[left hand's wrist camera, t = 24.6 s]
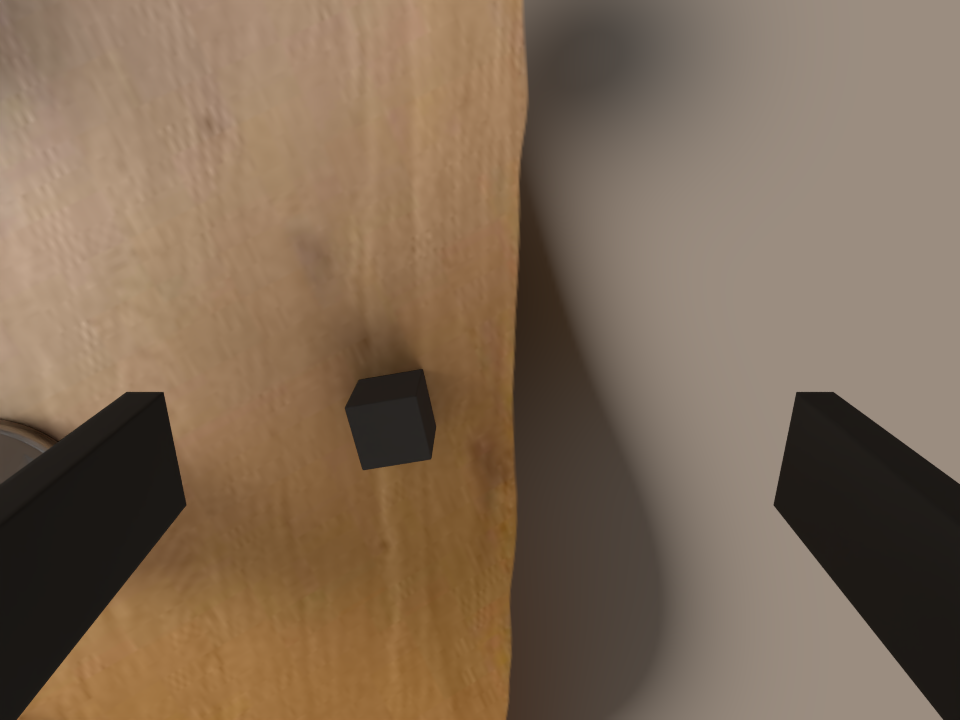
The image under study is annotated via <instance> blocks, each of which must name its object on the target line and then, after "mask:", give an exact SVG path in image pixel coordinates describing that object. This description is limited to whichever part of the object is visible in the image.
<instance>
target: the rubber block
mask: <svg viewBox="0 0 960 720" xmlns="http://www.w3.org/2000/svg"><path fill="white" fill-rule="evenodd" d="M345 410H346V414H347V417H348V421H349V424H350V428H351V431H352V435H353V438H354V442H355V445H356V449H357V452H358V456H359V459H360V463H361V466H362V469H363V470H368V469H374V468H380V467H386V466H393V465H399V464H405V463H411V462H418V461H424V460H430V459H431V458H432V451H433V444H434V438H435V431H436V424H435V420H434V415H433V411H432V407H431V402H430V398H429V394H428V389H427V385H426V381H425V376H424V372H423V369H420V370H414V371H408V372H402V373H396V374H391V375H385V376H379V377H373V378H367V379H361V380H358V382H357V384H356V386H355V388H354V390H353V392H352V394H351V396H350V398H349V401H348V403H347V405H346V407H345Z"/></svg>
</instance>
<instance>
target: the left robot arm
mask: <svg viewBox="0 0 960 720" xmlns="http://www.w3.org/2000/svg"><path fill="white" fill-rule="evenodd" d="M185 506H186V501H185V496H184V491H183V486H182V481H181V476H180V471H179V466H178V461H177V456H176V451H175V446H174V441H173V436H172V432H171V427H170V422H169V417H168V412H167V407H166V402H165V397H164V392H126V393H125V394H123V395H122V396H120V397H119V398H118V399H116V400H115V401H114V402H112V403H111V404H110V405H108V406H107V407H105V408H104V409H103V410H101V411H100V412H99V413H97V414H96V415H94V416H93V417H92V418H90V419H89V420H88V421H86V422H85V423H83V424H82V425H81V426H79V427H78V428H77V429H75V430H74V431H73V432H71V433H70V434H68V435H67V436H66V437H64V438H63V439H62V440H60V441H59V442H57V441H56V440H54V439H52V438H51V437H49V436H47V435H45V434H43V433H42V432H39V431H37V430H35V429H33V428H30V427H27V426H25V425H22V424H18V423H14V422H11V421H5V420H0V720H17V719H18V717H19V716H20V715H21V714H22V712H23V711H24V710H25V709H26V707H27V706H28V705H29V703H30V702H31V701H32V700H33V698H34V697H35V696H36V695H37V693H38V692H39V691H40V690H41V688H42V687H43V686H44V685H45V683H46V682H47V681H48V679H49V678H50V677H51V676H52V674H53V673H54V672H55V671H56V669H57V668H58V667H59V666H60V664H61V663H62V662H63V661H64V659H65V658H66V657H67V655H68V654H69V653H70V652H71V650H72V649H73V648H74V647H75V645H76V644H77V643H78V642H79V640H80V639H81V638H82V637H83V635H84V634H85V633H86V631H87V630H88V629H89V628H90V626H91V625H92V624H93V623H94V621H95V620H96V619H97V618H98V616H99V615H100V614H101V612H102V611H103V610H104V609H105V607H106V606H107V605H108V604H109V602H110V601H111V600H112V599H113V597H114V596H115V595H116V594H117V592H118V591H119V590H120V588H121V587H122V586H123V585H124V583H125V582H126V581H127V580H128V578H129V577H130V576H131V575H132V573H133V572H134V571H135V570H136V568H137V567H138V566H139V564H140V563H141V562H142V561H143V559H144V558H145V557H146V556H147V554H148V553H149V552H150V551H151V549H152V548H153V547H154V546H155V544H156V543H157V542H158V540H159V539H160V538H161V537H162V535H163V534H164V533H165V532H166V530H167V529H168V528H169V527H170V525H171V524H172V523H173V522H174V520H175V519H176V518H177V516H178V515H179V514H180V513H181V511H182V510H183V509H184V508H185ZM774 506H775V508H776V509H777V510H778V511H779V513H780V514H781V515H782V516H783V518H784V519H785V520H786V521H787V523H788V524H789V525H790V527H791V528H792V529H793V530H794V532H795V533H796V534H797V535H798V537H799V538H800V539H801V540H802V542H803V543H804V544H805V546H806V547H807V548H808V549H809V551H810V552H811V553H812V554H813V556H814V557H815V558H816V559H817V561H818V562H819V563H820V564H821V566H822V567H823V568H824V570H825V571H826V572H827V573H828V575H829V576H830V577H831V578H832V580H833V581H834V582H835V583H836V585H837V586H838V587H839V588H840V590H841V591H842V592H843V593H844V595H845V596H846V597H847V598H848V600H849V601H850V602H851V604H852V605H853V606H854V607H855V609H856V610H857V611H858V612H859V614H860V615H861V616H862V618H863V619H864V620H865V621H866V623H867V624H868V625H869V626H870V628H871V629H872V630H873V631H874V633H875V634H876V635H877V637H878V638H879V639H880V640H881V641H882V643H883V644H884V645H885V647H886V648H887V649H888V650H889V652H890V653H891V654H892V655H893V657H894V658H895V659H896V661H897V662H898V663H899V664H900V666H901V667H902V668H903V669H904V671H905V672H906V673H907V674H908V676H909V677H910V678H911V679H912V681H913V682H914V683H915V685H916V686H917V687H918V688H919V689H920V691H921V692H922V693H923V695H924V696H925V697H926V698H927V700H928V701H929V702H930V703H931V705H932V706H933V707H934V708H935V710H936V711H937V712H938V714H939V715H940V716H941V717H942V719H943V720H960V484H959V483H957V482H956V481H955V480H953V479H952V478H951V477H949V476H948V475H946V474H945V473H944V472H942V471H941V470H940V469H938V468H937V467H935V466H934V465H933V464H931V463H930V462H929V461H927V460H926V459H924V458H923V457H922V456H920V455H919V454H918V453H916V452H915V451H914V450H912V449H911V448H909V447H908V446H907V445H905V444H904V443H903V442H901V441H900V440H898V439H897V438H896V437H894V436H893V435H892V434H890V433H889V432H887V431H886V430H885V429H883V428H882V427H881V426H879V425H878V424H876V423H875V422H874V421H872V420H871V419H870V418H868V417H867V416H866V415H864V414H863V413H861V412H860V411H859V410H857V409H856V408H855V407H853V406H852V405H850V404H849V403H848V402H846V401H845V400H844V399H842V398H841V397H839V396H838V395H837V394H835V393H834V392H796V397H795V402H794V407H793V412H792V417H791V422H790V427H789V432H788V436H787V441H786V446H785V451H784V456H783V461H782V466H781V471H780V476H779V481H778V486H777V491H776V496H775V501H774Z"/></svg>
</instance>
